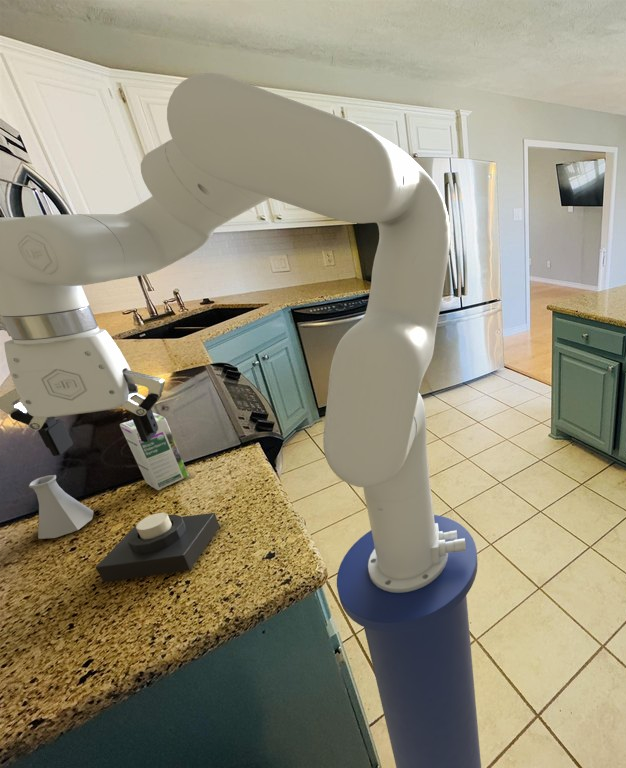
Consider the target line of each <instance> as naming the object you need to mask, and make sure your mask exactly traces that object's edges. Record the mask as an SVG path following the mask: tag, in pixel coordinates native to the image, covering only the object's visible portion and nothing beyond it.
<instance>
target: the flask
mask: <svg viewBox="0 0 626 768" xmlns="http://www.w3.org/2000/svg"><path fill="white" fill-rule="evenodd" d="M28 488H30V489H32V490H33V491H34V493H35V494H36V498H37V501H38V529H37V539H38V540H42V539H56V538H60V537H62V536H64V535H68V534H71V533H74V532H77V531H79V530H80V529H82V528H83V527H85V525H87V524H88V523H90V522H91V521H92V520H93V519H94V518H93V517H94V510H92V509H91V508H90V507H88V506H86V505H85V504H83V503H82V502H80V501H78V500H77V499H76V498H74V497H72V496H71V495H70V494H68V493H67V492H65V490H63V488H61V486H59V484H58V482H57V475H56V474H51V475H49V474H48V475H45V476H41V477H38V478H36V479H34V480H32V481H31V482H29V484H28Z"/></svg>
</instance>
